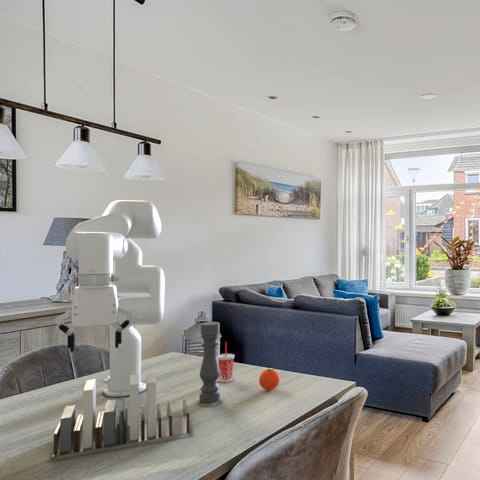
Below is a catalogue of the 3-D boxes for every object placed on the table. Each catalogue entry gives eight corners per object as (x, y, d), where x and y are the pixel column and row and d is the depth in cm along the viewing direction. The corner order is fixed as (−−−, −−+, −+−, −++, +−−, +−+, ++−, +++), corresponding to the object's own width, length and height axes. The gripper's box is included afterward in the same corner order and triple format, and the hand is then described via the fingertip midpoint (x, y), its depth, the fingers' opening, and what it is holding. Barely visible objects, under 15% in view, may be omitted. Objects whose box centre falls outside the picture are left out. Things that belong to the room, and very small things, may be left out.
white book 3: (147, 437, 114) (147, 382, 114) (146, 424, 122) (146, 373, 122) (155, 436, 115) (156, 381, 115) (154, 423, 123) (155, 372, 123)
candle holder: (213, 407, 138) (213, 325, 138) (195, 405, 139) (195, 324, 139) (223, 400, 144) (224, 322, 144) (206, 398, 145) (206, 321, 145)
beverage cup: (219, 384, 160) (219, 344, 160) (214, 379, 165) (215, 341, 165) (236, 381, 163) (236, 342, 163) (231, 376, 168) (231, 339, 168)
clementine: (264, 384, 159) (264, 364, 159) (283, 385, 158) (283, 365, 158) (255, 392, 152) (255, 371, 152) (275, 393, 150) (275, 372, 150)
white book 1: (82, 448, 108) (83, 390, 108) (86, 434, 116) (86, 380, 116) (92, 447, 109) (92, 389, 109) (95, 432, 117) (95, 379, 117)
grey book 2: (103, 445, 110) (103, 412, 110) (106, 431, 118) (106, 400, 118) (114, 443, 111) (114, 411, 111) (115, 429, 119) (115, 399, 119)
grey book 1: (59, 452, 106) (60, 418, 106) (65, 437, 114) (65, 406, 114) (70, 451, 107) (71, 417, 107) (75, 436, 115) (75, 404, 115)
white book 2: (129, 440, 112) (129, 384, 112) (130, 427, 120) (130, 375, 120) (138, 439, 113) (138, 383, 113) (138, 426, 121) (138, 374, 121)
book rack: (52, 461, 104) (52, 422, 104) (60, 440, 115) (60, 405, 115) (190, 436, 117) (190, 402, 117) (185, 419, 128) (185, 388, 128)
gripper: (134, 278, 121) (133, 342, 121) (57, 281, 113) (56, 349, 113) (134, 280, 114) (133, 348, 114) (52, 283, 107) (51, 355, 106)
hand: (95, 348), depth 114 cm, fingers open, 9 cm apart
